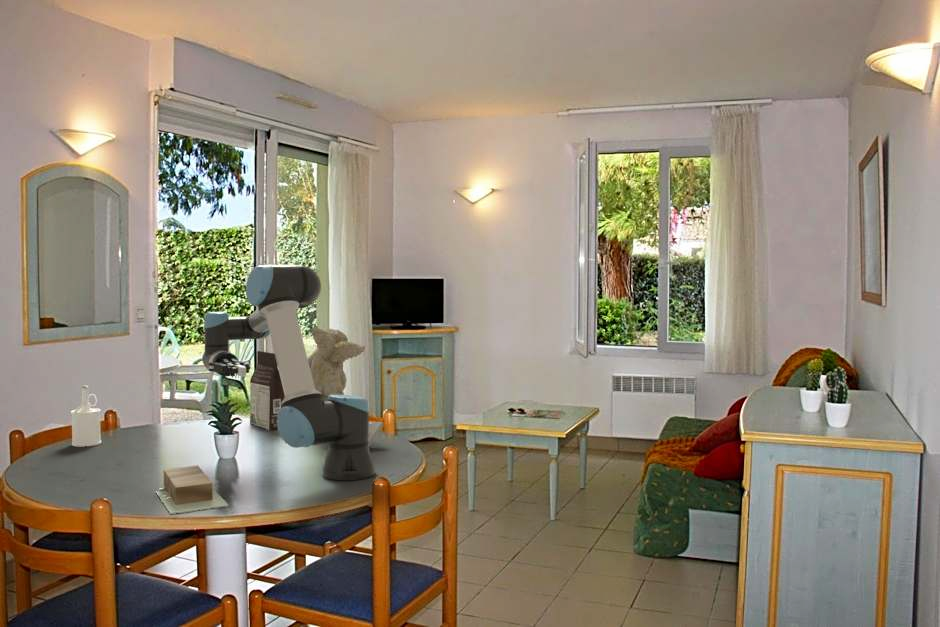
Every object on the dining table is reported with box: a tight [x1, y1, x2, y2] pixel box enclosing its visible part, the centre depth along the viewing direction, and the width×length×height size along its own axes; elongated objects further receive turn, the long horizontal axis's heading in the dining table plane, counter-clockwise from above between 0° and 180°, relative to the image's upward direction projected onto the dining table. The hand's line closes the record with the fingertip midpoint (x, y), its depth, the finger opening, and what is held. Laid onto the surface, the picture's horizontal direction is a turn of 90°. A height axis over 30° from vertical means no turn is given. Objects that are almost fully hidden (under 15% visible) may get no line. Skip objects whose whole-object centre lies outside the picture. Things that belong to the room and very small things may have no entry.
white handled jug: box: [70, 385, 102, 448], centre depth 279 cm, size 10×9×20 cm
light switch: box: [368, 420, 385, 447], centre depth 277 cm, size 8×6×14 cm
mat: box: [155, 487, 230, 515], centre depth 215 cm, size 22×14×1 cm, turn 30°
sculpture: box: [307, 322, 366, 402], centre depth 298 cm, size 22×24×40 cm
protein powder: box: [249, 350, 285, 431], centre depth 312 cm, size 16×9×28 cm, turn 42°
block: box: [163, 464, 213, 505], centre depth 218 cm, size 4×9×18 cm
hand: (243, 371), depth 239 cm, fingers closed
